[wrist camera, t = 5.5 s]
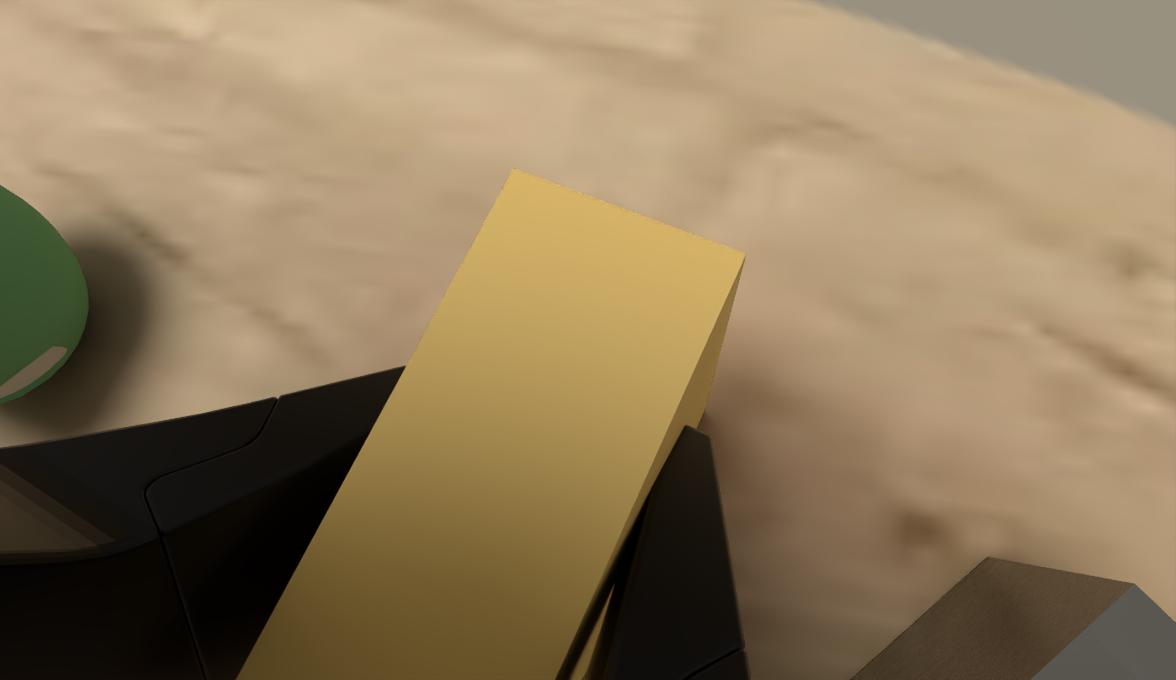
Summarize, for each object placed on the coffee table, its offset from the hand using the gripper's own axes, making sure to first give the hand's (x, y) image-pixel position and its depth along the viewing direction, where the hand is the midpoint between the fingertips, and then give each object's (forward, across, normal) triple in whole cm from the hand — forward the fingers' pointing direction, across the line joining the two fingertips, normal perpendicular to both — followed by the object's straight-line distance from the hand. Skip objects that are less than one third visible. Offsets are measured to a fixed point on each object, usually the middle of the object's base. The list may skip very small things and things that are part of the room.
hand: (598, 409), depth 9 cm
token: (+4, 0, +6) cm, 7 cm away
